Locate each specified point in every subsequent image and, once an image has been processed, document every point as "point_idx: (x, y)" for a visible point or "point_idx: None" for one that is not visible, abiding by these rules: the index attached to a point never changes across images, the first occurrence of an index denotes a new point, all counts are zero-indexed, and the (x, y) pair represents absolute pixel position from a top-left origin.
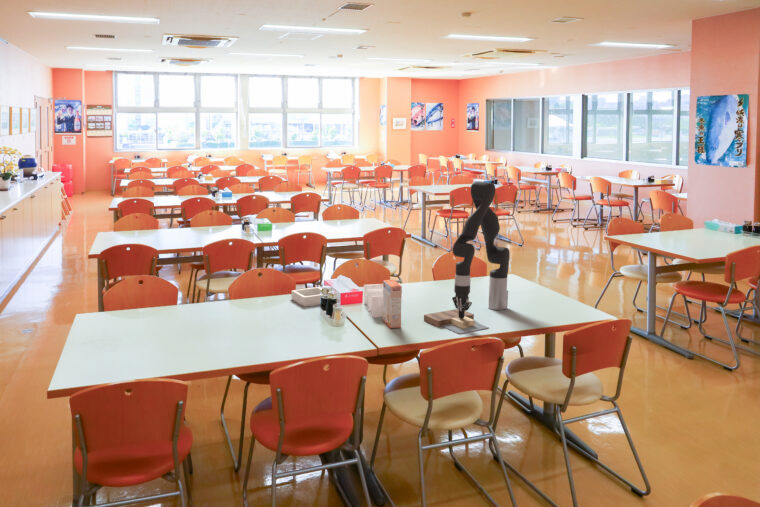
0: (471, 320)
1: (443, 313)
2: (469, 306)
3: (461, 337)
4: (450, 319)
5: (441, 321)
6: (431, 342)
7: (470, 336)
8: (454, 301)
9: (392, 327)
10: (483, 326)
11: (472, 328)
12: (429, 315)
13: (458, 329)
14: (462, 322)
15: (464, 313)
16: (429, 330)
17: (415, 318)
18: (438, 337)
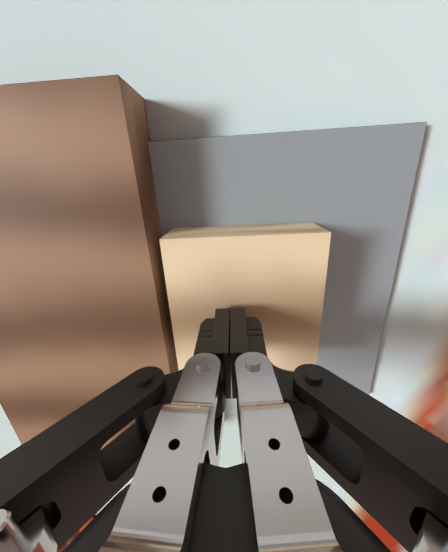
0: (320, 268)
1: (17, 340)
2: (441, 454)
3: (414, 408)
4: (170, 363)
5: None
6: (367, 521)
7: (442, 362)
8: (66, 526)
9: None
10: (368, 152)
11: (348, 272)
12: None
13: None
14: (316, 361)
15: (52, 165)
16: (222, 464)
17: (4, 427)
18: (334, 480)
